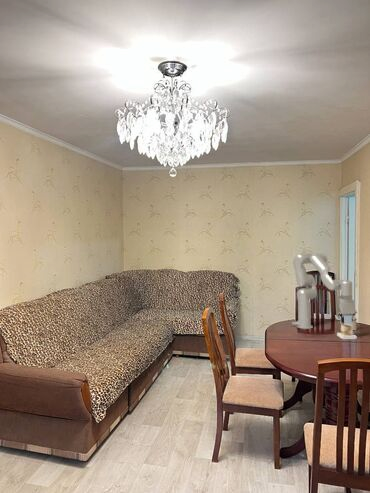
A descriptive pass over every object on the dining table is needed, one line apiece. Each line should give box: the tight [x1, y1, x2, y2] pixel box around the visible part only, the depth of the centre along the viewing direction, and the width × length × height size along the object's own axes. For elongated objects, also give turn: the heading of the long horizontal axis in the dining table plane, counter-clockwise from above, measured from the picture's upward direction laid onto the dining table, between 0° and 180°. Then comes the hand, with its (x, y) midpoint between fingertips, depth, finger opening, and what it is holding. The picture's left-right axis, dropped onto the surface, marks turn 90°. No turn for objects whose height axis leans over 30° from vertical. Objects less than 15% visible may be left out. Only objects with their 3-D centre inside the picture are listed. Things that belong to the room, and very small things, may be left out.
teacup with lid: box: [339, 316, 357, 331], centre depth 288 cm, size 12×9×12 cm
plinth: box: [336, 332, 358, 340], centre depth 265 cm, size 10×10×2 cm
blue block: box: [343, 314, 352, 325], centre depth 265 cm, size 5×5×6 cm
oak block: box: [340, 324, 354, 336], centre depth 265 cm, size 6×6×6 cm
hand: (346, 322), depth 265 cm, fingers closed on blue block, 5 cm apart
